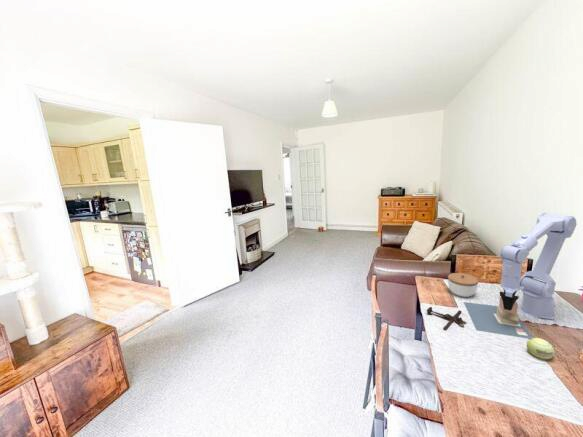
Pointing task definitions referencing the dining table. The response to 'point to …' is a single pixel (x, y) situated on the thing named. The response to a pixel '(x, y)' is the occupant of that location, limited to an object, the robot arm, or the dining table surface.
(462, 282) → the lidded bowl
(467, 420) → the dining table surface
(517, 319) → the maple block
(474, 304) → the board
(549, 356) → the tennis ball
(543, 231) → the robot arm
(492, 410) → the dining table surface
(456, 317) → the bear figurine
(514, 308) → the terracotta block
